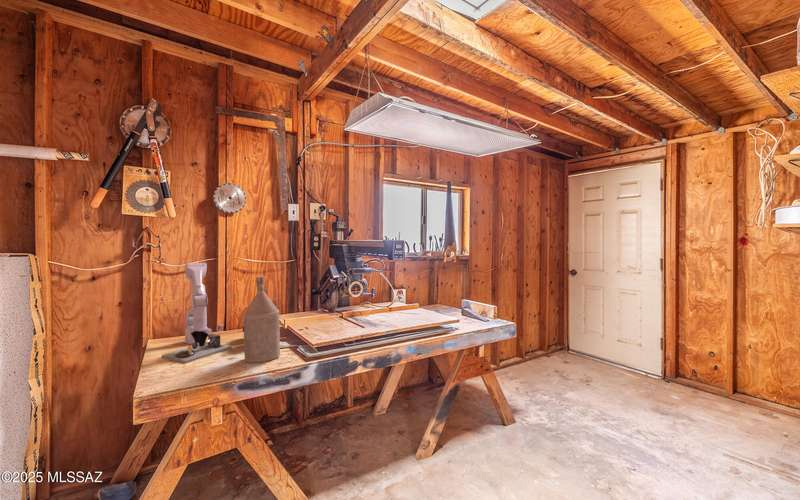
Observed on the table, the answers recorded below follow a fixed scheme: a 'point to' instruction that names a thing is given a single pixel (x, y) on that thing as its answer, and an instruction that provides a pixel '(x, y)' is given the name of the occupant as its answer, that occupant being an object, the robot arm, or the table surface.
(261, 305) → the grey brown bottle
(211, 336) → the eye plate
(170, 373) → the table surface
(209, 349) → the board
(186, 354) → the handwheel
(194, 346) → the headed rod
